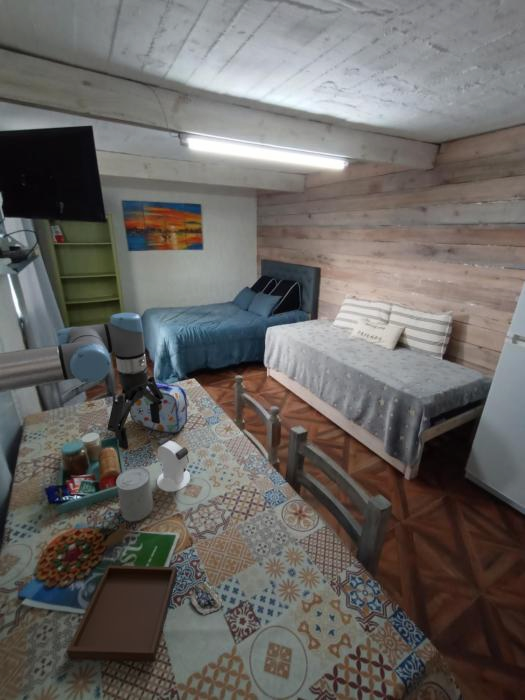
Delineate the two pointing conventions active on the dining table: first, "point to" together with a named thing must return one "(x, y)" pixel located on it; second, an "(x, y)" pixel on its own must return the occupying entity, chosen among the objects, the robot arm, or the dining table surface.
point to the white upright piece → (172, 466)
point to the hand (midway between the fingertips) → (140, 434)
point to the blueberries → (205, 598)
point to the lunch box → (163, 409)
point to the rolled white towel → (135, 493)
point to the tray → (125, 615)
